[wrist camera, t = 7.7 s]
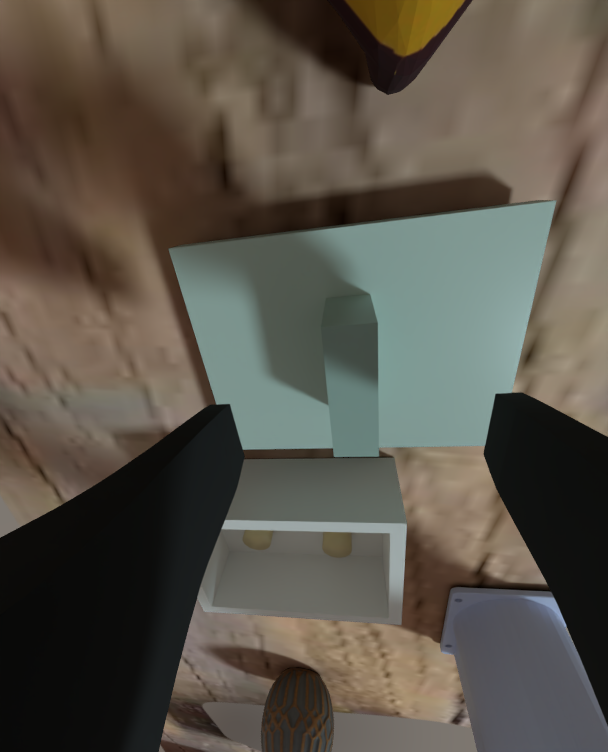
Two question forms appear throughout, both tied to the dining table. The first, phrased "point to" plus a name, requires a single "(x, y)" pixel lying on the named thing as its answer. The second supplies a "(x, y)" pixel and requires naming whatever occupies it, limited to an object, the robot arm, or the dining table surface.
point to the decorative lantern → (398, 35)
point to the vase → (298, 714)
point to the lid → (367, 326)
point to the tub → (311, 542)
